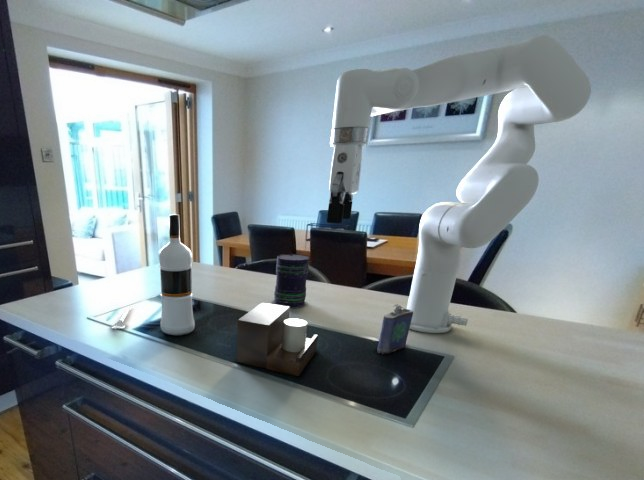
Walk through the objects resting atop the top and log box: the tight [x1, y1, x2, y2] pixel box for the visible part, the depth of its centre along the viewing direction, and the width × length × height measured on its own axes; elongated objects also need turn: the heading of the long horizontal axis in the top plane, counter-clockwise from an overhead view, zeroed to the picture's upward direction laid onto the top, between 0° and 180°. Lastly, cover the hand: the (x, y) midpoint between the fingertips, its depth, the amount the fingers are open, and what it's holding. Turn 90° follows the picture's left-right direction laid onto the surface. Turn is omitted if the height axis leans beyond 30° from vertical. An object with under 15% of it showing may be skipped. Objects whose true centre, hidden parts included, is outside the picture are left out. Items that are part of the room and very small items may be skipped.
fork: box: [110, 306, 132, 329], centre depth 112 cm, size 3×20×2 cm, turn 177°
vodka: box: [158, 213, 196, 337], centre depth 99 cm, size 9×9×30 cm
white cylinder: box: [282, 317, 308, 352], centre depth 85 cm, size 5×5×6 cm
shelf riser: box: [236, 302, 319, 377], centre depth 87 cm, size 14×14×10 cm
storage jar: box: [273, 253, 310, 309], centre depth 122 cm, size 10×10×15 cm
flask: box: [376, 303, 413, 355], centre depth 90 cm, size 9×3×11 cm, turn 121°
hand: (338, 220), depth 91 cm, fingers open, 9 cm apart
